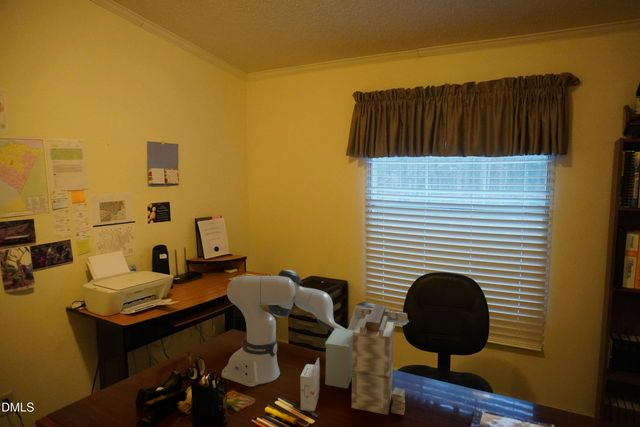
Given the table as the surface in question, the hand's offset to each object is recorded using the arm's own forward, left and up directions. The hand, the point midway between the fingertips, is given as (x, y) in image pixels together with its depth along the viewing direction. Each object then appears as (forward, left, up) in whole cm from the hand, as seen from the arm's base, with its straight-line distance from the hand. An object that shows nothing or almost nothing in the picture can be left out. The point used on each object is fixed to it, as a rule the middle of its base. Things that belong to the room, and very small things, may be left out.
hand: (378, 312), depth 133 cm
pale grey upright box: (-14, +2, -28) cm, 31 cm away
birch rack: (0, -10, -28) cm, 30 cm away
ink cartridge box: (-20, -18, -28) cm, 39 cm away
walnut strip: (0, -4, -2) cm, 5 cm away
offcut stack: (+9, -12, -28) cm, 32 cm away
